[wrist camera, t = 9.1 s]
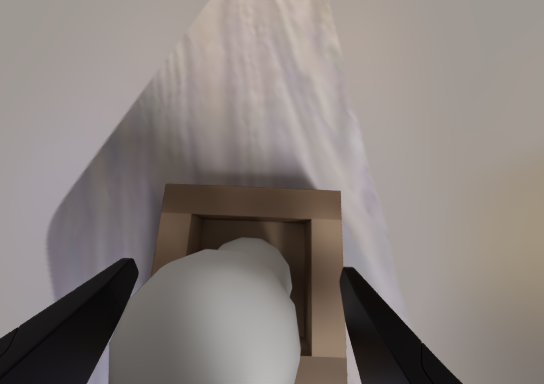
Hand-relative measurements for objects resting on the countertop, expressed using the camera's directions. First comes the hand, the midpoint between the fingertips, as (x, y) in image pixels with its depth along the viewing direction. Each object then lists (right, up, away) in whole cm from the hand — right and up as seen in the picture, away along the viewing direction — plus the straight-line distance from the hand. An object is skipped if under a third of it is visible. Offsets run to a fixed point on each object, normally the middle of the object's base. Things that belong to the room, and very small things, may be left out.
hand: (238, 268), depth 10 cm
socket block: (0, -3, +8) cm, 9 cm away
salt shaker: (0, -3, +7) cm, 8 cm away
